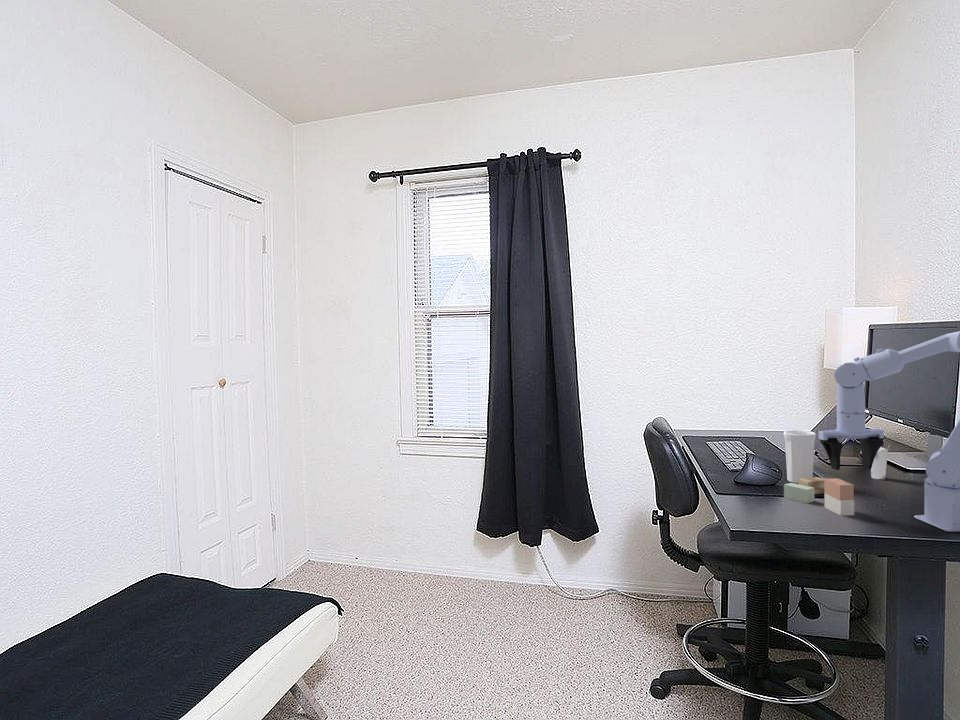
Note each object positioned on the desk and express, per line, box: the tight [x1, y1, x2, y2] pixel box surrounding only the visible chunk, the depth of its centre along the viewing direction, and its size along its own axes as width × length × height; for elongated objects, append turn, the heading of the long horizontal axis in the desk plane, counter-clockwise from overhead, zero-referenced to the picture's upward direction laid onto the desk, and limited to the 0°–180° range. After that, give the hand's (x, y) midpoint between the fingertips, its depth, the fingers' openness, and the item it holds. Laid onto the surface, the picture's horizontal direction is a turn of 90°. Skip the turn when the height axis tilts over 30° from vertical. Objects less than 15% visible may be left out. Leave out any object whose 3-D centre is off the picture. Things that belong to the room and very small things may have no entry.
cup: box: [783, 429, 817, 484], centre depth 159 cm, size 8×8×14 cm
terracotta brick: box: [823, 477, 855, 501], centre depth 133 cm, size 6×3×4 cm, turn 179°
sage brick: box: [783, 482, 815, 504], centre depth 143 cm, size 6×3×4 cm, turn 31°
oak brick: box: [798, 476, 825, 495], centre depth 149 cm, size 6×3×4 cm, turn 102°
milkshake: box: [870, 443, 891, 480], centre depth 161 cm, size 4×5×10 cm
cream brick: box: [824, 493, 855, 516], centre depth 133 cm, size 6×3×4 cm, turn 1°
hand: (851, 468), depth 135 cm, fingers open, 7 cm apart
